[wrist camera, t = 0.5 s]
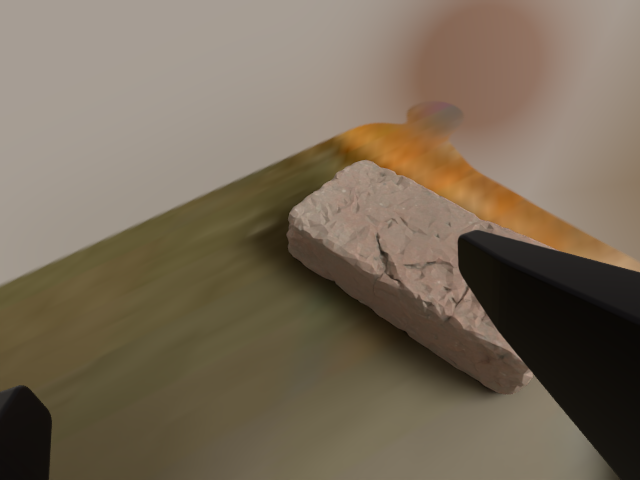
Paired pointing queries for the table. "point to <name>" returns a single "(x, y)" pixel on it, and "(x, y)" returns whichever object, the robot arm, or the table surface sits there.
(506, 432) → the table surface
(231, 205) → the table surface
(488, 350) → the brick
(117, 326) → the table surface
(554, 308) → the robot arm
